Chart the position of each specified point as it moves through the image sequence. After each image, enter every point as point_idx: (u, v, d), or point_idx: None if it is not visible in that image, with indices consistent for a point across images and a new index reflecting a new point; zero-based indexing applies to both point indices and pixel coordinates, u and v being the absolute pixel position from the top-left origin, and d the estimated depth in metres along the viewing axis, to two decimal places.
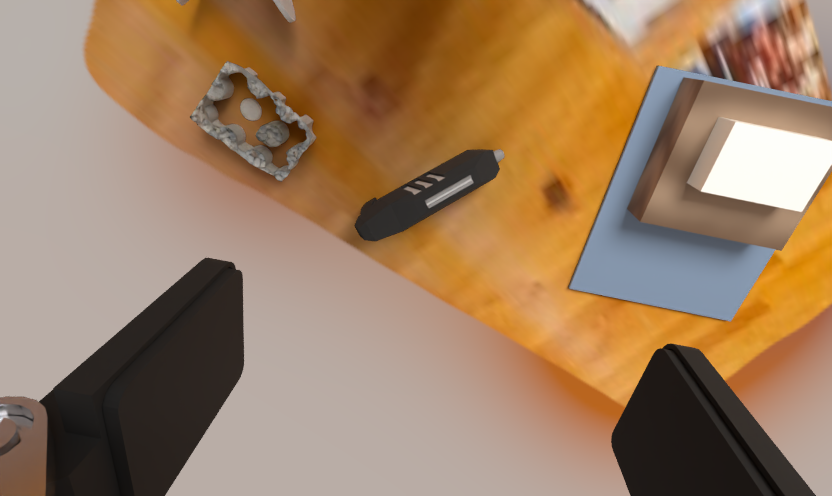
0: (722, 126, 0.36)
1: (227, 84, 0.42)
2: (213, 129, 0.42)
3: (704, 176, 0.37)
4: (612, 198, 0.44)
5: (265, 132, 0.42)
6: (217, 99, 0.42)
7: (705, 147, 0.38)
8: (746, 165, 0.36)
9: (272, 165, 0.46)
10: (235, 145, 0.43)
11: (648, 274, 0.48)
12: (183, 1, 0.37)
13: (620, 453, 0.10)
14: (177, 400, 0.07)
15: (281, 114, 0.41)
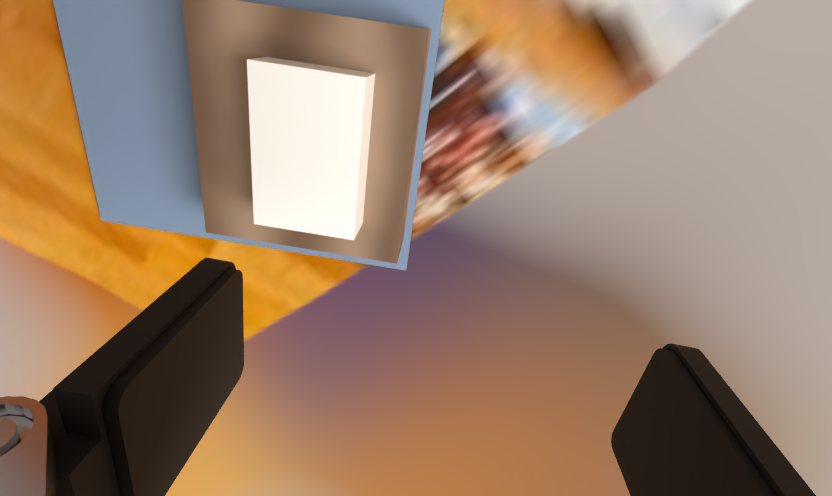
0: (359, 73, 0.22)
1: None
2: None
3: (275, 62, 0.22)
4: None
5: None
6: None
7: (326, 66, 0.23)
8: (303, 119, 0.22)
9: None
10: None
11: (121, 73, 0.28)
12: None
13: (620, 453, 0.10)
14: (177, 400, 0.07)
15: None
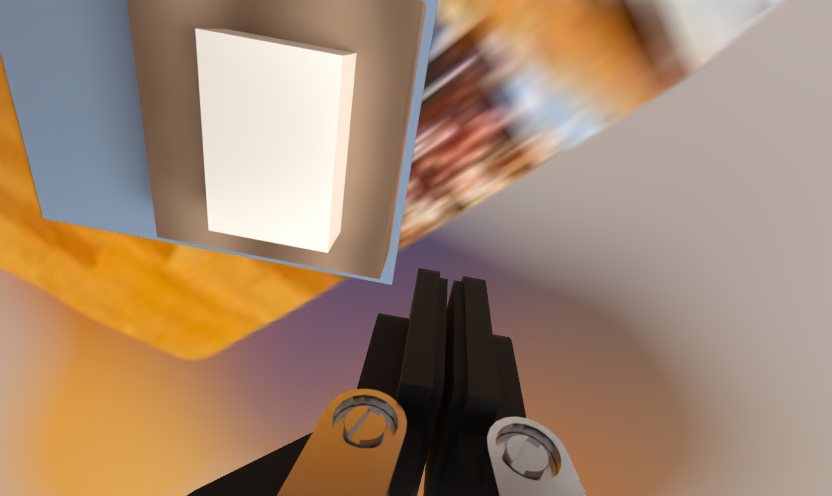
0: (336, 51, 0.18)
1: None
2: None
3: (231, 33, 0.18)
4: None
5: None
6: None
7: (297, 42, 0.19)
8: (265, 105, 0.18)
9: None
10: None
11: (60, 47, 0.24)
12: None
13: None
14: None
15: None
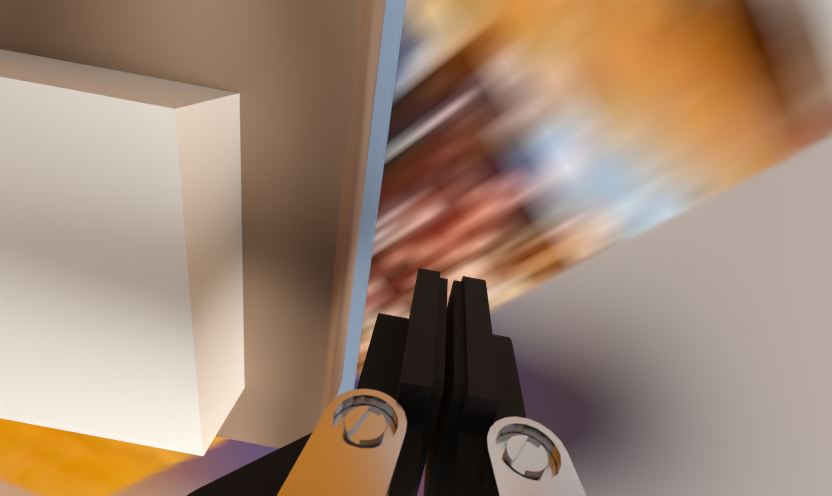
0: (183, 94, 0.09)
1: None
2: None
3: None
4: None
5: None
6: None
7: (118, 72, 0.10)
8: (31, 208, 0.09)
9: None
10: None
11: None
12: None
13: None
14: None
15: None
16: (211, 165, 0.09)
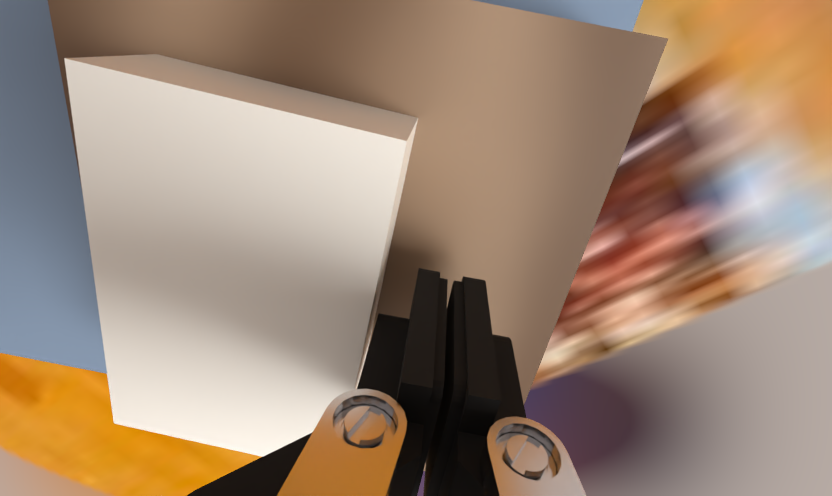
0: (383, 120, 0.09)
1: None
2: None
3: (154, 73, 0.08)
4: None
5: None
6: None
7: (300, 91, 0.09)
8: (227, 228, 0.08)
9: None
10: None
11: None
12: None
13: None
14: None
15: None
16: (399, 191, 0.09)
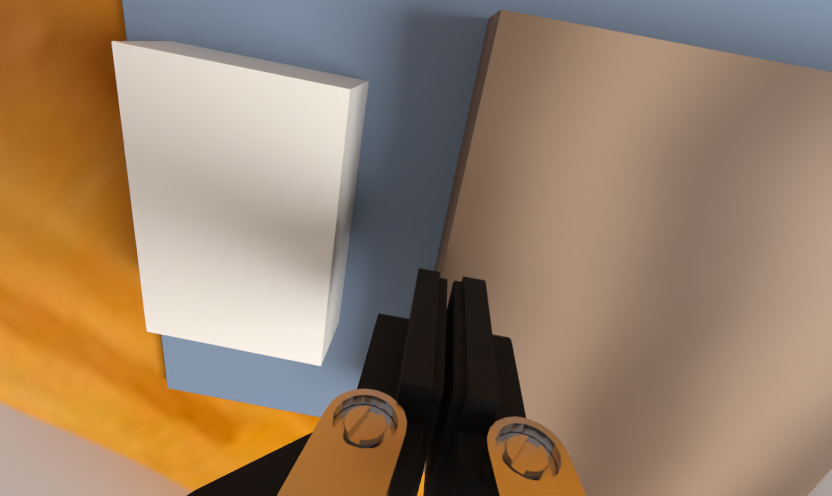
0: (164, 45, 0.12)
1: None
2: None
3: (323, 74, 0.12)
4: None
5: None
6: None
7: (220, 61, 0.11)
8: None
9: None
10: None
11: None
12: None
13: None
14: None
15: None
16: None
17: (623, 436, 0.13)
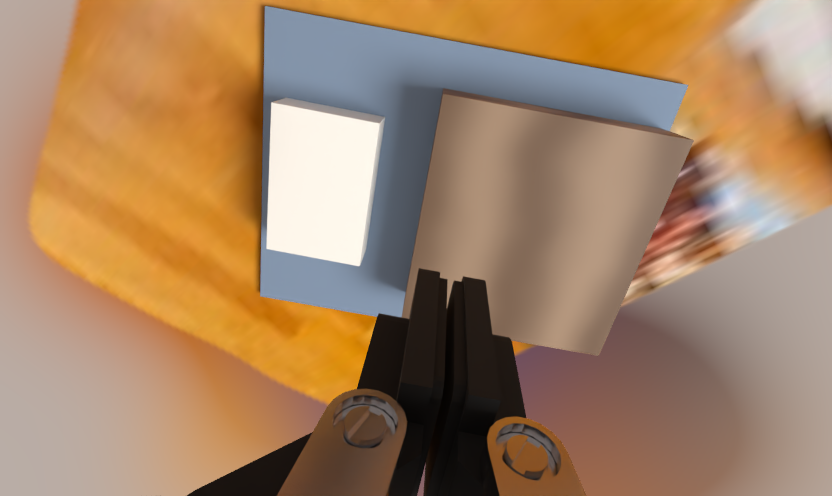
0: (289, 102, 0.24)
1: None
2: None
3: (363, 114, 0.25)
4: (462, 56, 0.24)
5: None
6: None
7: (320, 111, 0.24)
8: None
9: None
10: None
11: None
12: None
13: None
14: None
15: None
16: None
17: (515, 295, 0.26)
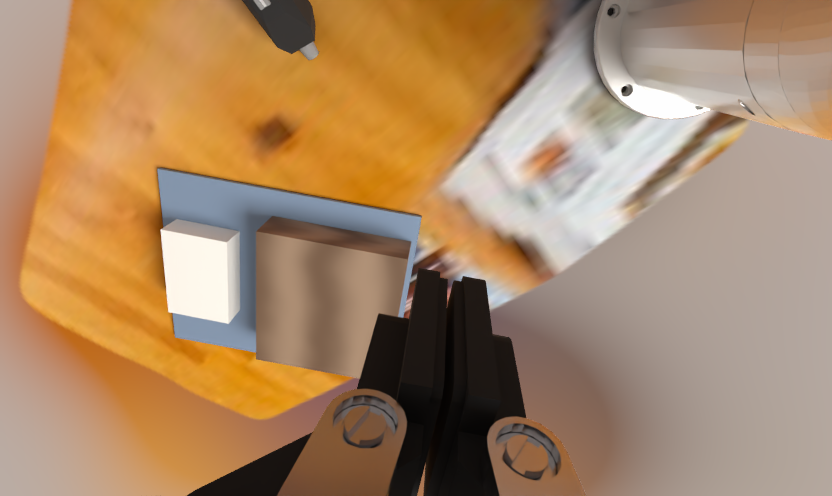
0: (174, 225, 0.39)
1: None
2: None
3: (224, 230, 0.40)
4: (281, 198, 0.39)
5: None
6: None
7: (190, 234, 0.38)
8: None
9: None
10: None
11: None
12: None
13: None
14: None
15: None
16: None
17: (324, 344, 0.41)
